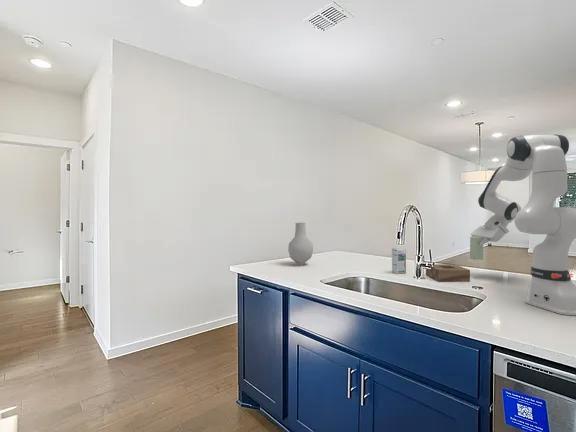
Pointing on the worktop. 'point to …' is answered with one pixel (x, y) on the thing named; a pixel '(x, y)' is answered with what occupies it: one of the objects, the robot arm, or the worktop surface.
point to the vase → (300, 246)
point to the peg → (476, 248)
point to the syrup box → (398, 260)
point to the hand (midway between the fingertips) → (476, 244)
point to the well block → (448, 273)
